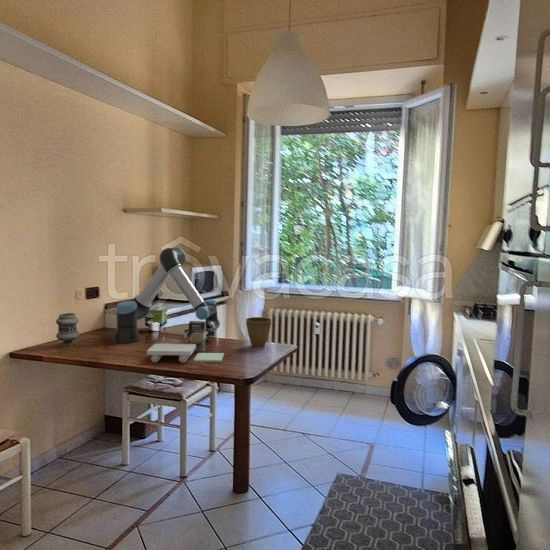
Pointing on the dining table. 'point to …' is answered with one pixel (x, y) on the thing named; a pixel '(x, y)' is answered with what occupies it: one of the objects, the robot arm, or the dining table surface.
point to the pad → (209, 357)
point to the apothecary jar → (67, 328)
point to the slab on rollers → (171, 351)
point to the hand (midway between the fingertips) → (194, 335)
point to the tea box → (159, 316)
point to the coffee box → (197, 335)
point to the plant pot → (258, 330)
